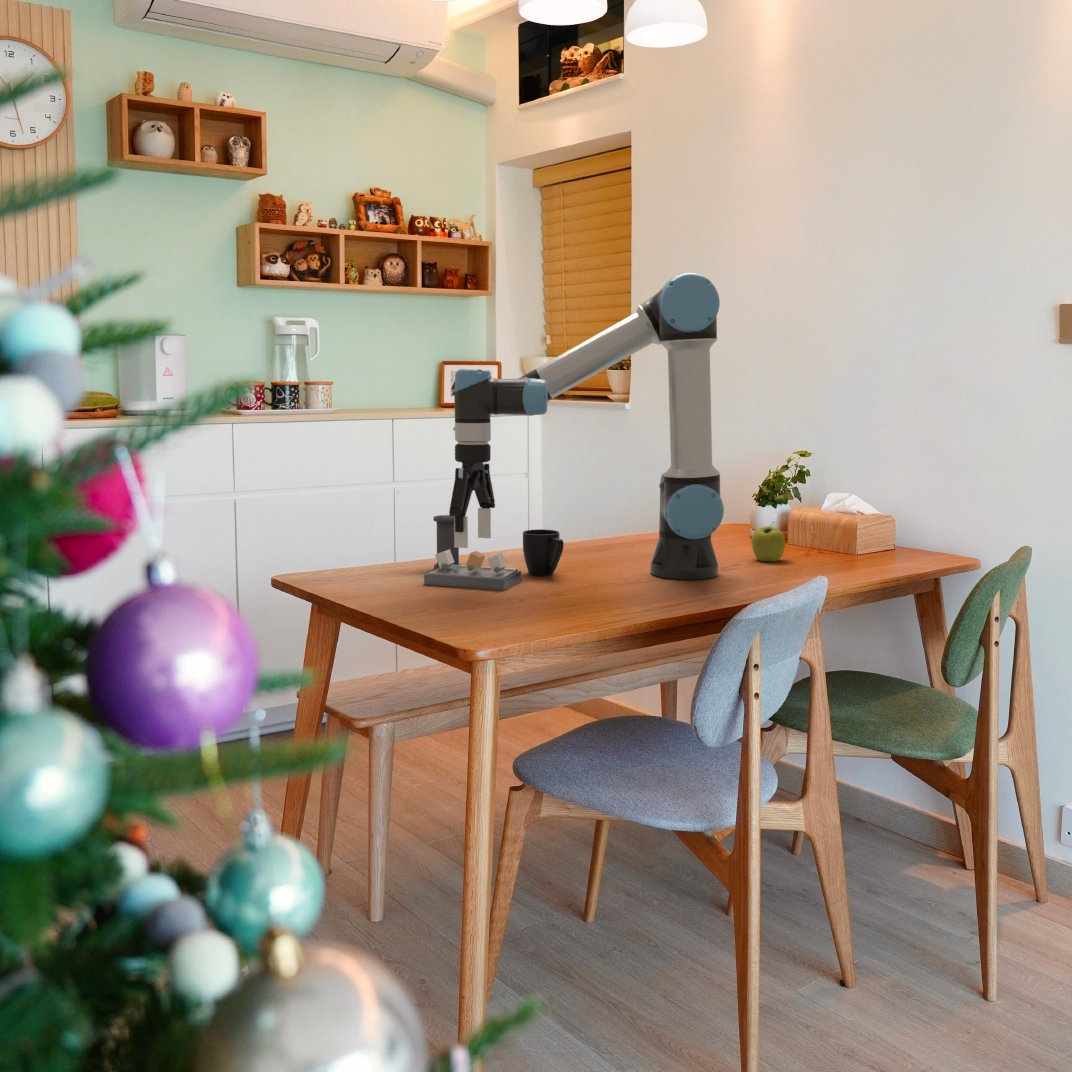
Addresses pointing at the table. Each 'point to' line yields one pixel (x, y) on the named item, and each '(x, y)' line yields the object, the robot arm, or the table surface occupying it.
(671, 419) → the robot arm
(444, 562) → the paddle
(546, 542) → the mug
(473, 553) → the paddle mid
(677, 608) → the table surface
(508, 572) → the breaker strip
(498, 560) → the paddle
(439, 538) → the dark grey flanged cylinder
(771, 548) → the apple
